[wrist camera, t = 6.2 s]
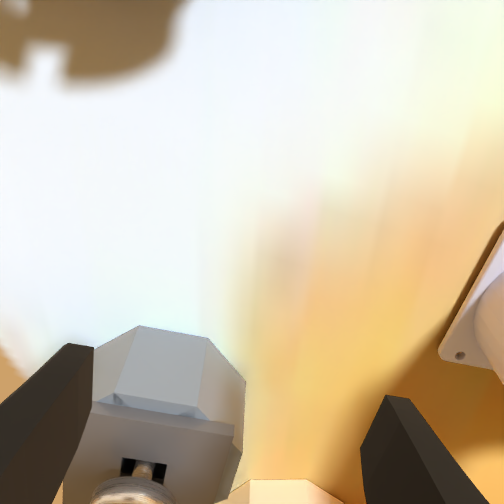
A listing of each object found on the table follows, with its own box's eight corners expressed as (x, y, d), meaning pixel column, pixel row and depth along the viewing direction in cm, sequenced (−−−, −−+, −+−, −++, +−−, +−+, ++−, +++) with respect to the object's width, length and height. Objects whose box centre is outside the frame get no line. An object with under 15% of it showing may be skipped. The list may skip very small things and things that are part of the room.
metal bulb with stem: (199, 384, 23) (176, 523, 17) (189, 430, 25) (165, 571, 19) (129, 372, 23) (80, 509, 17) (123, 419, 25) (77, 559, 19)
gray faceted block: (255, 346, 23) (254, 428, 19) (225, 452, 27) (217, 539, 23) (50, 309, 22) (-2, 385, 18) (50, 423, 26) (7, 508, 22)
